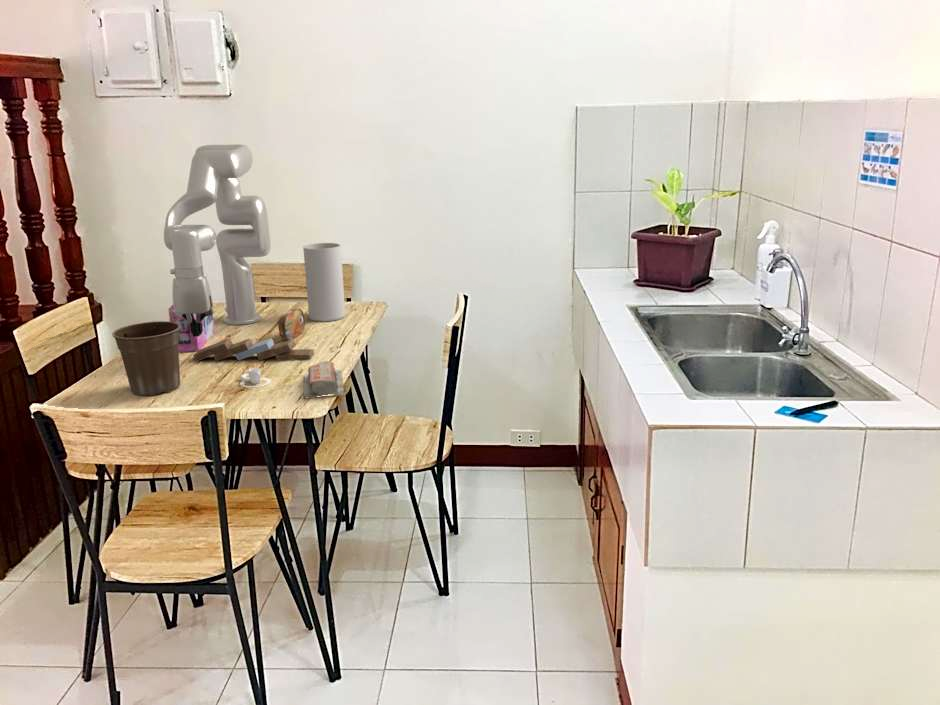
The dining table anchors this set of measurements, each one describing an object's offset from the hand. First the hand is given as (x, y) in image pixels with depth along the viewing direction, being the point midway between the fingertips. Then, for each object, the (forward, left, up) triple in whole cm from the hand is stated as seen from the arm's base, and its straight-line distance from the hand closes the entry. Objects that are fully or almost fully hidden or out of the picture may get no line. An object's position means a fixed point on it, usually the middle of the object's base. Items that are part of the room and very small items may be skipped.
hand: (197, 335), depth 230 cm
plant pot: (+16, -21, -7) cm, 27 cm away
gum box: (-18, +8, -7) cm, 21 cm away
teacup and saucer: (+30, +2, -8) cm, 31 cm away
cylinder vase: (-11, +53, -7) cm, 55 cm away
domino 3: (+8, +8, -6) cm, 13 cm away
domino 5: (+16, +16, -7) cm, 24 cm away
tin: (+1, +31, -7) cm, 32 cm away
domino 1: (0, 0, -6) cm, 6 cm away
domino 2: (+4, +4, -6) cm, 8 cm away
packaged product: (+47, +10, -8) cm, 49 cm away
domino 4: (+13, +12, -6) cm, 19 cm away
